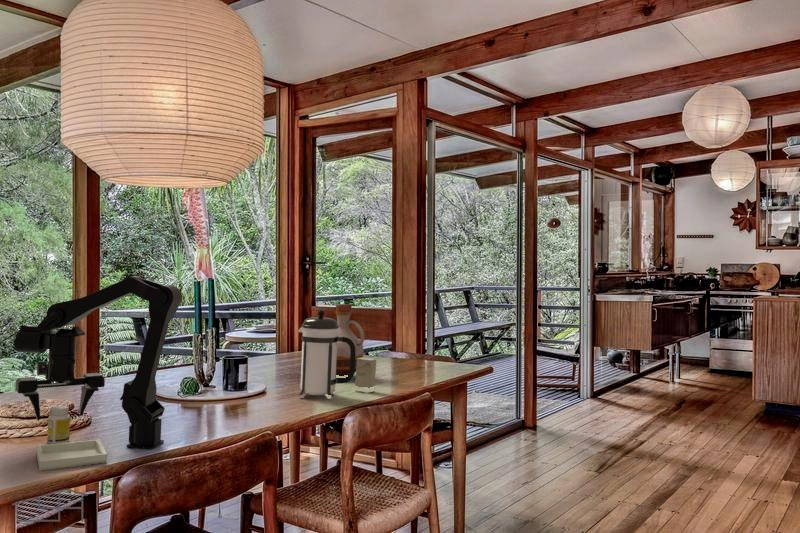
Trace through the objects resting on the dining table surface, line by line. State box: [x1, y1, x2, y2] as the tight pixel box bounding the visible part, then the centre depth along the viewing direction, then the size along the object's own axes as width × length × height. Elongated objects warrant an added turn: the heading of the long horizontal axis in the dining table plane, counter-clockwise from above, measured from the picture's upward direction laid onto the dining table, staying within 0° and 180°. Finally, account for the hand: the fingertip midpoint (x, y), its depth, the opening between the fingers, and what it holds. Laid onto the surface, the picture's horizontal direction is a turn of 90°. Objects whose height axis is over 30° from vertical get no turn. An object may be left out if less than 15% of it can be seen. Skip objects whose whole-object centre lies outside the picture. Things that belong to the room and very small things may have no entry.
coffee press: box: [297, 309, 356, 396], centre depth 222 cm, size 17×16×30 cm
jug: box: [335, 304, 365, 376], centre depth 260 cm, size 20×18×30 cm
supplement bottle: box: [46, 405, 71, 444], centre depth 156 cm, size 5×5×8 cm
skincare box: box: [354, 356, 377, 388], centre depth 233 cm, size 6×4×12 cm
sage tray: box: [35, 438, 108, 472], centre depth 143 cm, size 13×13×2 cm
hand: (59, 418), depth 156 cm, fingers open, 9 cm apart
